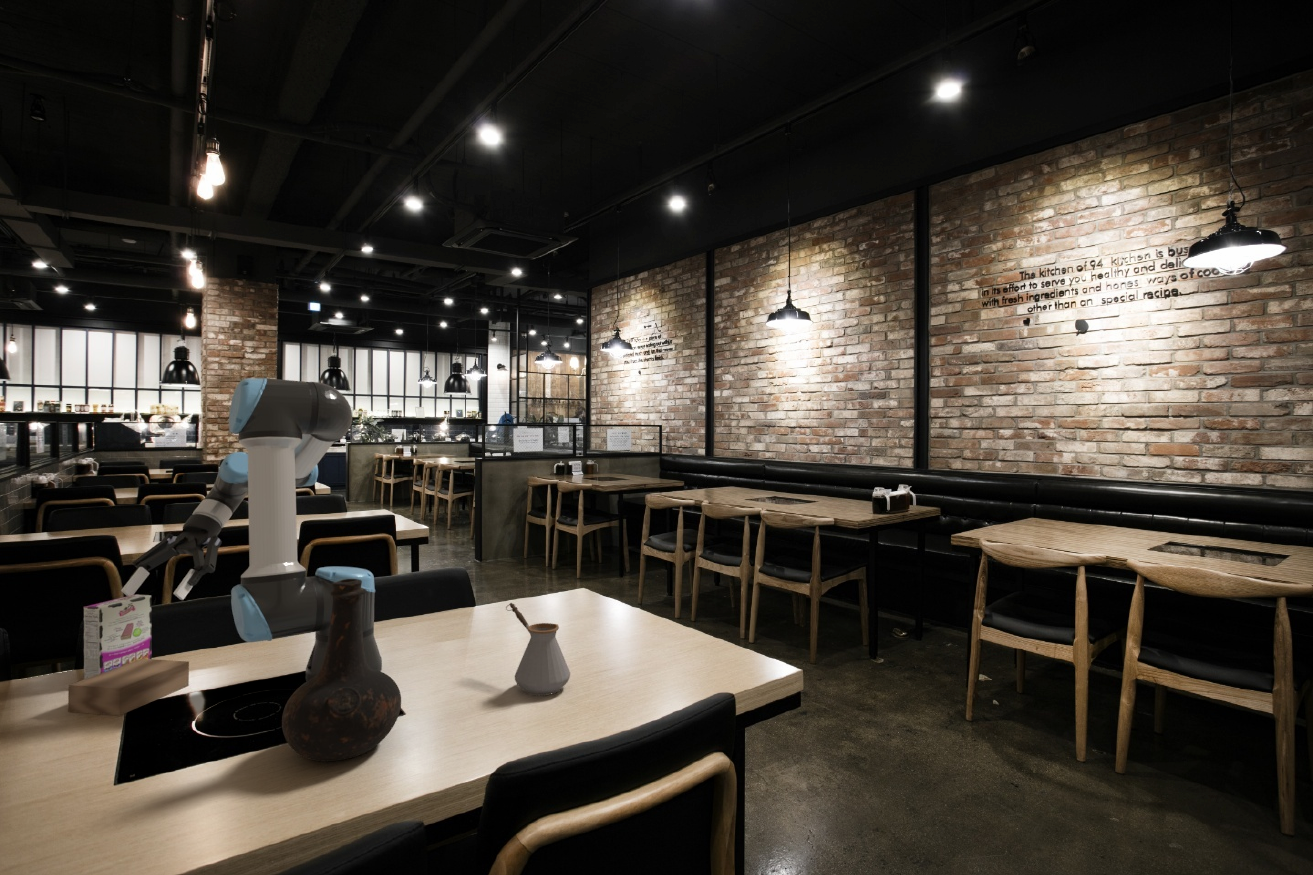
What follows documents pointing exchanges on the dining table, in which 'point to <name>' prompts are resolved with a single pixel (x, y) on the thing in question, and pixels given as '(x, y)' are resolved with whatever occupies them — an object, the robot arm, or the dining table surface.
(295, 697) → the brown bottle vase
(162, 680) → the walnut plinth
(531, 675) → the coffee pot
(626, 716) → the dining table surface
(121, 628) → the candy bar box
